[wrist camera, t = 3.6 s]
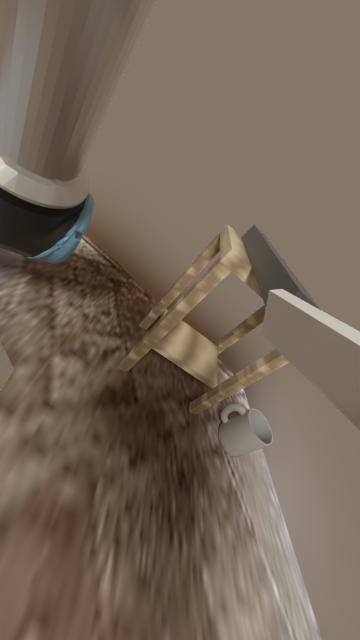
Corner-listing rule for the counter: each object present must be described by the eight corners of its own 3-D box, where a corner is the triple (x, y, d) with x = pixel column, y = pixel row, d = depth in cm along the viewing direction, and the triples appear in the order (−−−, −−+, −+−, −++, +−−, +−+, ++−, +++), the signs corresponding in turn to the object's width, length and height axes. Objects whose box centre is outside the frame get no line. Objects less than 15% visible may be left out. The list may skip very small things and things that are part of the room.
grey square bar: (268, 313, 18) (299, 290, 17) (241, 238, 40) (254, 224, 38) (290, 333, 19) (323, 312, 18) (252, 248, 40) (265, 236, 39)
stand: (117, 367, 42) (233, 247, 26) (141, 321, 55) (228, 222, 39) (195, 415, 47) (331, 338, 32) (200, 362, 60) (298, 289, 45)
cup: (232, 465, 45) (267, 453, 40) (205, 420, 48) (235, 404, 44) (244, 446, 51) (276, 433, 46) (219, 407, 54) (247, 391, 49)
